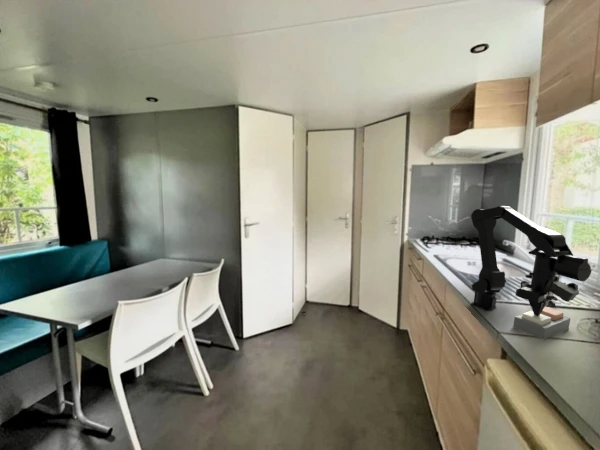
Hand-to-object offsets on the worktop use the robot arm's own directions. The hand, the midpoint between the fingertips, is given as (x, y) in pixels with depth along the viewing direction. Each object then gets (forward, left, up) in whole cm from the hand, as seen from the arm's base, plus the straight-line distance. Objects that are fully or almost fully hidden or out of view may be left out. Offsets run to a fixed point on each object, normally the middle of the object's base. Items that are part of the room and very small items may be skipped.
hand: (536, 315), depth 94 cm
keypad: (0, +4, -5) cm, 7 cm away
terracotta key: (0, +9, -4) cm, 10 cm away
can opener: (-15, +37, -6) cm, 40 cm away
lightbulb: (-9, +28, -6) cm, 30 cm away
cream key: (0, 0, -4) cm, 4 cm away
